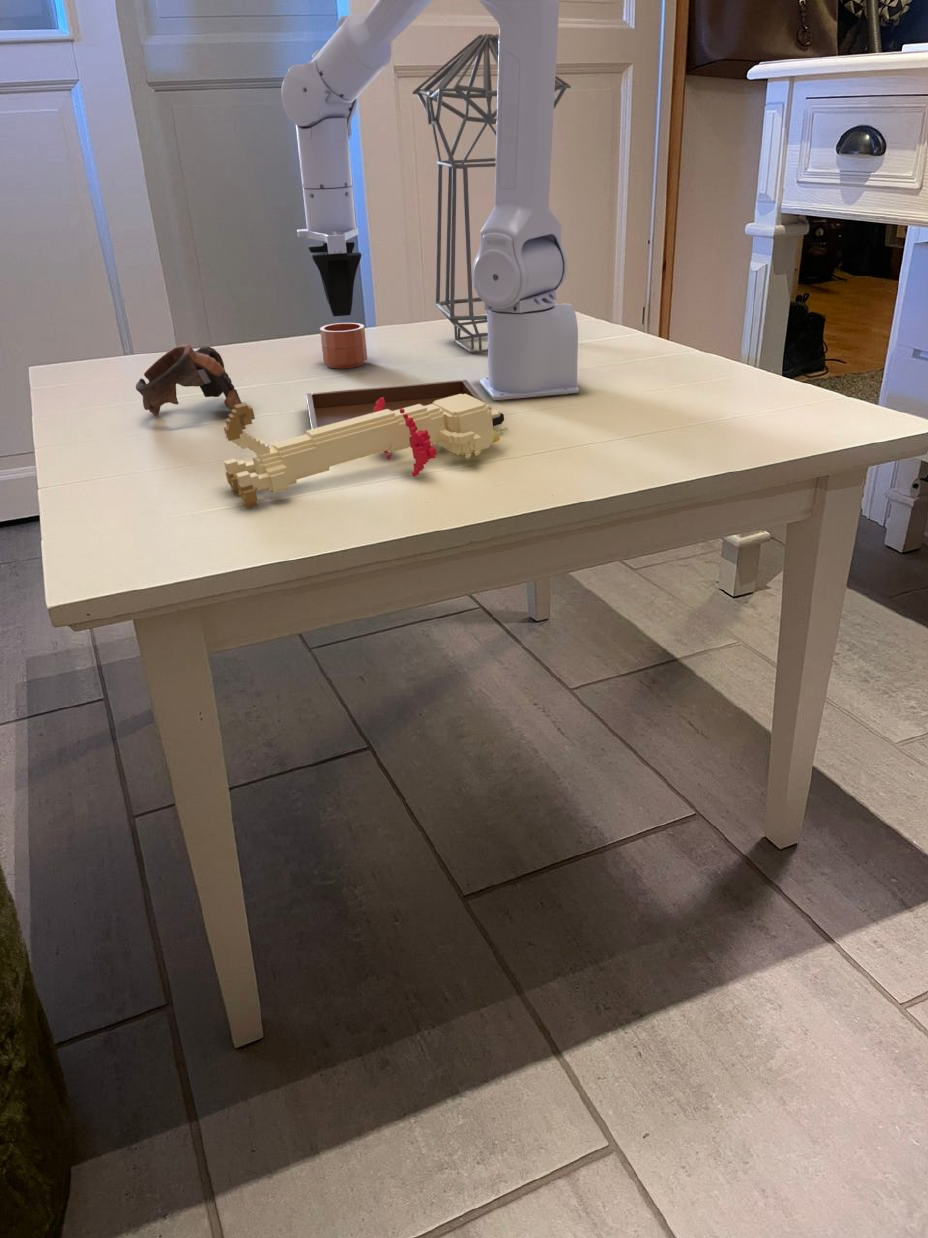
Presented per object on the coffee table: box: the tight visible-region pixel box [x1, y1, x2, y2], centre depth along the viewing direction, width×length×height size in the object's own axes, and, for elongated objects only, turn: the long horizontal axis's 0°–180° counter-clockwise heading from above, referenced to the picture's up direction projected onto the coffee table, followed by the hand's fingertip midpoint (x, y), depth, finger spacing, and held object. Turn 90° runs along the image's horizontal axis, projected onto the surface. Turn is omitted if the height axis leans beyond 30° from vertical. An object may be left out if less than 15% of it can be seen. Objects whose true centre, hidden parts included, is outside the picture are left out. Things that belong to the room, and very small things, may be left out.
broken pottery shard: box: [135, 343, 243, 417], centre depth 99 cm, size 12×10×8 cm
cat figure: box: [223, 394, 509, 509], centre depth 80 cm, size 10×9×25 cm
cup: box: [319, 322, 368, 369], centre depth 116 cm, size 5×6×4 cm
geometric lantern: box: [412, 33, 572, 354], centre depth 116 cm, size 16×16×35 cm
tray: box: [305, 379, 485, 430], centre depth 94 cm, size 17×13×2 cm
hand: (339, 309), depth 114 cm, fingers open, 7 cm apart
